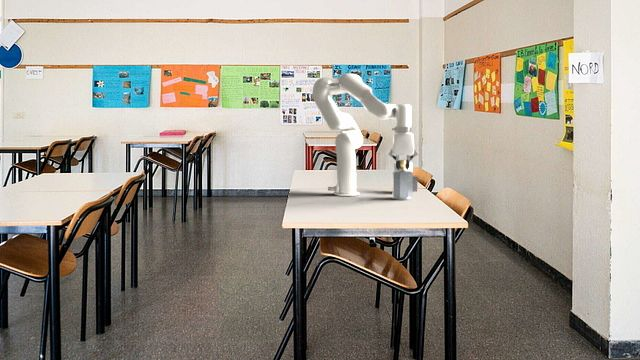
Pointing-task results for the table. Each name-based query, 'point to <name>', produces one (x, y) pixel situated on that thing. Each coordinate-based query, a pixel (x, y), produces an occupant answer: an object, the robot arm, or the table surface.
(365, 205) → the table surface
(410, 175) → the pale grey carton
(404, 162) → the plunger
